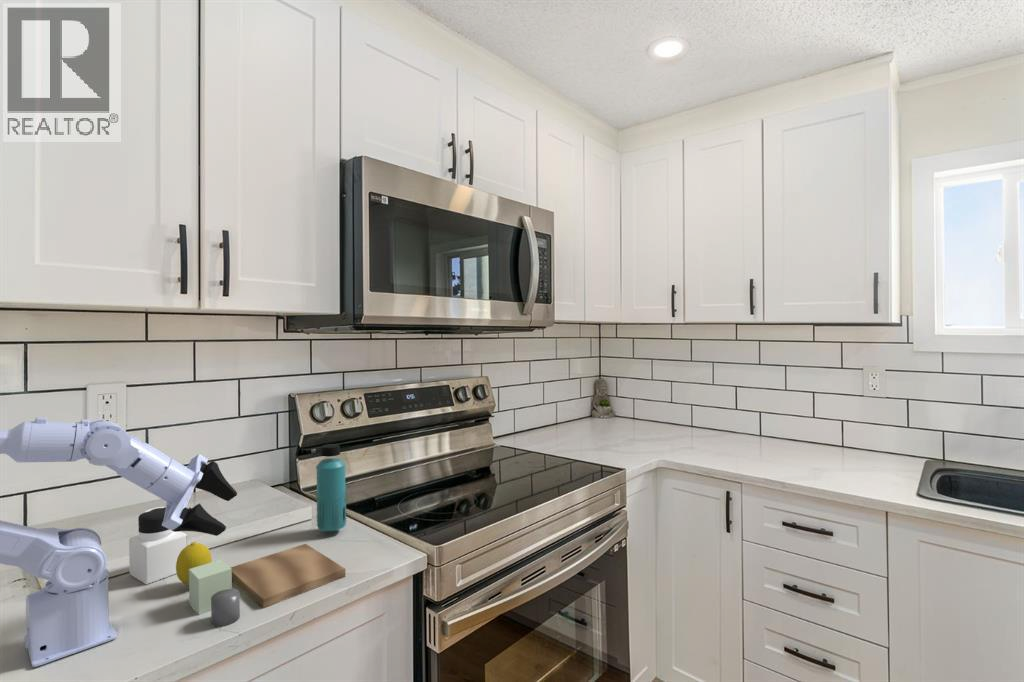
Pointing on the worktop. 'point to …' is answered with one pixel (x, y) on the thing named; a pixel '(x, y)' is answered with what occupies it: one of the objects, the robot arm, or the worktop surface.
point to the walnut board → (285, 574)
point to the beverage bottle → (331, 490)
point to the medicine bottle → (154, 548)
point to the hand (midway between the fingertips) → (227, 513)
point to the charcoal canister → (225, 607)
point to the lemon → (191, 560)
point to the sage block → (208, 584)
